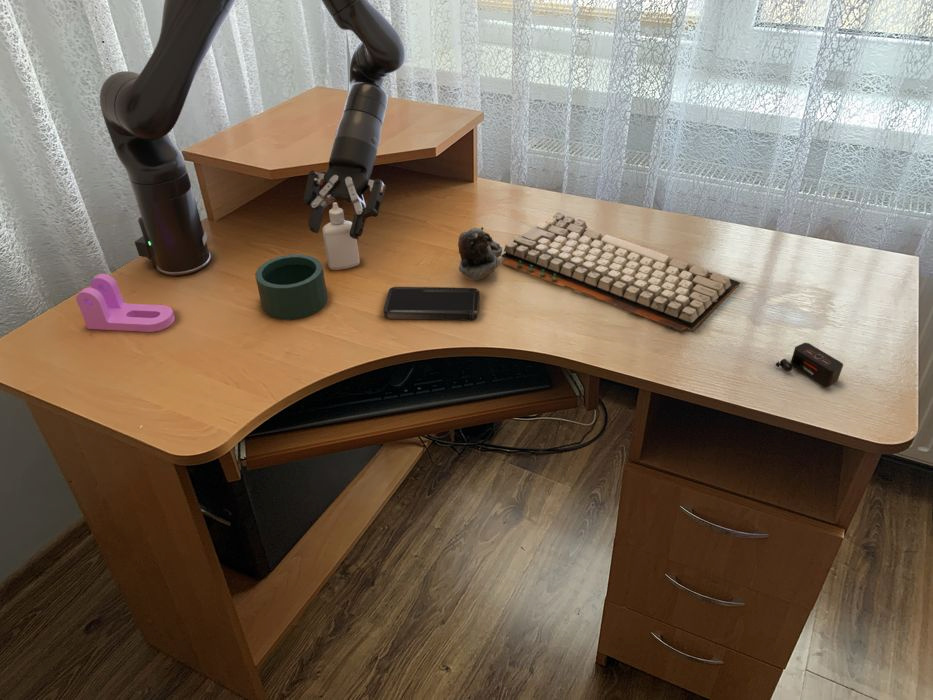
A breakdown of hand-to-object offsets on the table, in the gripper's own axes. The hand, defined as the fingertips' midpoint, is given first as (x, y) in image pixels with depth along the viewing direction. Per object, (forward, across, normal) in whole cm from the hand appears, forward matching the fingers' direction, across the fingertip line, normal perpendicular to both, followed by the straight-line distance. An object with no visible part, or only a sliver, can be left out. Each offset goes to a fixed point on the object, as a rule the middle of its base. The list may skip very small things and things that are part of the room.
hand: (333, 234), depth 126 cm
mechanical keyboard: (-4, -46, -15) cm, 48 cm away
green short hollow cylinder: (+13, +2, +3) cm, 14 cm away
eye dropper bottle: (+4, 0, -6) cm, 7 cm away
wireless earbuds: (+9, -77, -1) cm, 77 cm away
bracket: (+22, +24, +12) cm, 35 cm away
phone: (+9, -20, -1) cm, 22 cm away
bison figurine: (0, -24, -10) cm, 26 cm away
